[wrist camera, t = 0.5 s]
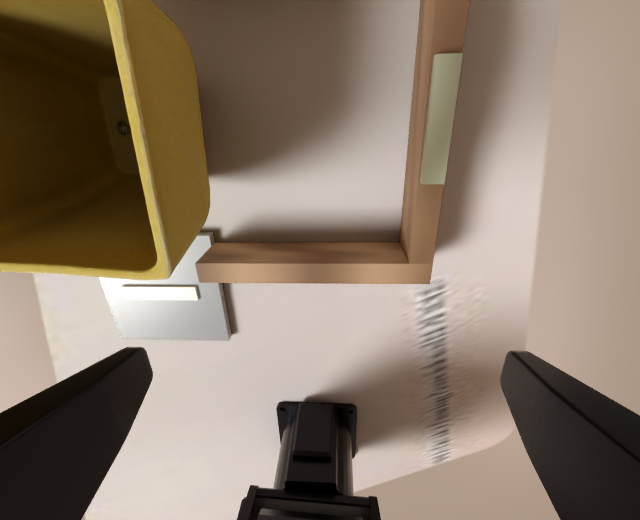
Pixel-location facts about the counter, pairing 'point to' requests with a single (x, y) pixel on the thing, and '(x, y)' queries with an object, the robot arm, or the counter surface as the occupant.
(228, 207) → the counter surface
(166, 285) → the tile
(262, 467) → the counter surface
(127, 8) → the flower pot
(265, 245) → the wooden tray frame
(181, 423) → the counter surface
